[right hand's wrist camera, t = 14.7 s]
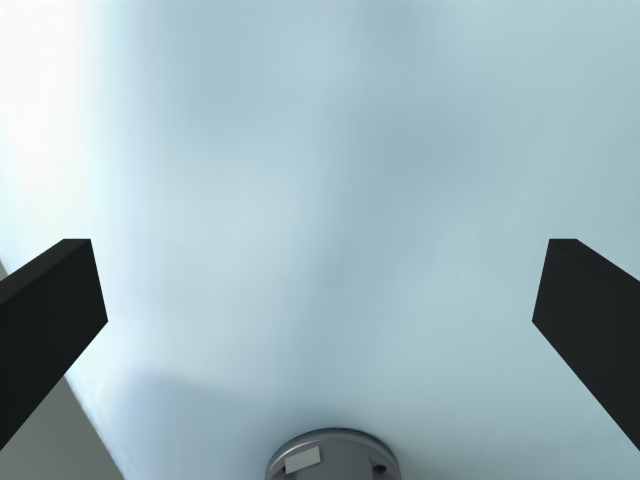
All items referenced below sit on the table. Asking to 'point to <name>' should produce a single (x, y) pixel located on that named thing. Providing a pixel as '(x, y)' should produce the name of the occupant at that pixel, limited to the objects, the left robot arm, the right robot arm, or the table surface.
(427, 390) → the table surface
